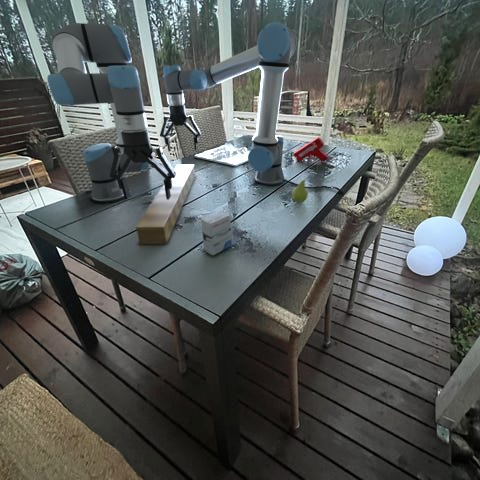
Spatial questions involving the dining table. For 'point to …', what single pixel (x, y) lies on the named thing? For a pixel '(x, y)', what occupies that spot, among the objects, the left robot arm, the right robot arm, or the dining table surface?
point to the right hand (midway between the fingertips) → (182, 150)
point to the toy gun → (312, 151)
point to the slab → (166, 208)
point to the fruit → (300, 192)
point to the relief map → (226, 155)
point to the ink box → (216, 232)
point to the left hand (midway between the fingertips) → (148, 197)
